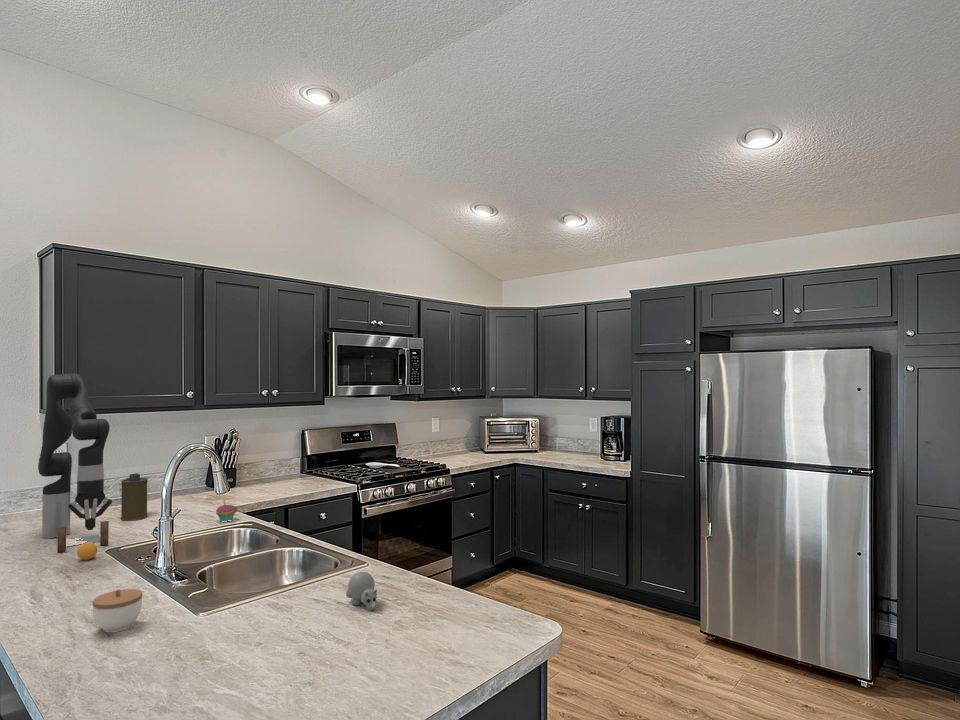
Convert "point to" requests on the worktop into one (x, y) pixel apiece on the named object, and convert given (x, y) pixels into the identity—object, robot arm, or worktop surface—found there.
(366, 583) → the chubby cartoon animal
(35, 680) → the worktop surface
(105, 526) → the post
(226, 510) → the cupcake
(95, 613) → the lidded jar
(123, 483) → the canister
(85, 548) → the ball
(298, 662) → the worktop surface
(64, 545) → the post
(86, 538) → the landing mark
